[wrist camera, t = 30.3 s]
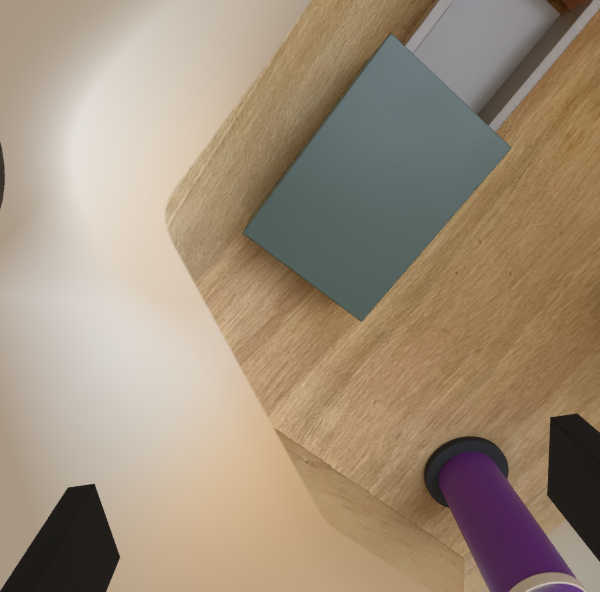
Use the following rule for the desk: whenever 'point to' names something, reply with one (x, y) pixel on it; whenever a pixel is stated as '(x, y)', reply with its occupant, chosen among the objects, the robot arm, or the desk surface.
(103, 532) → the robot arm
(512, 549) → the tube
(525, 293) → the desk surface
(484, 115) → the drawer
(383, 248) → the cabinet
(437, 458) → the coaster
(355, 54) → the desk surface
